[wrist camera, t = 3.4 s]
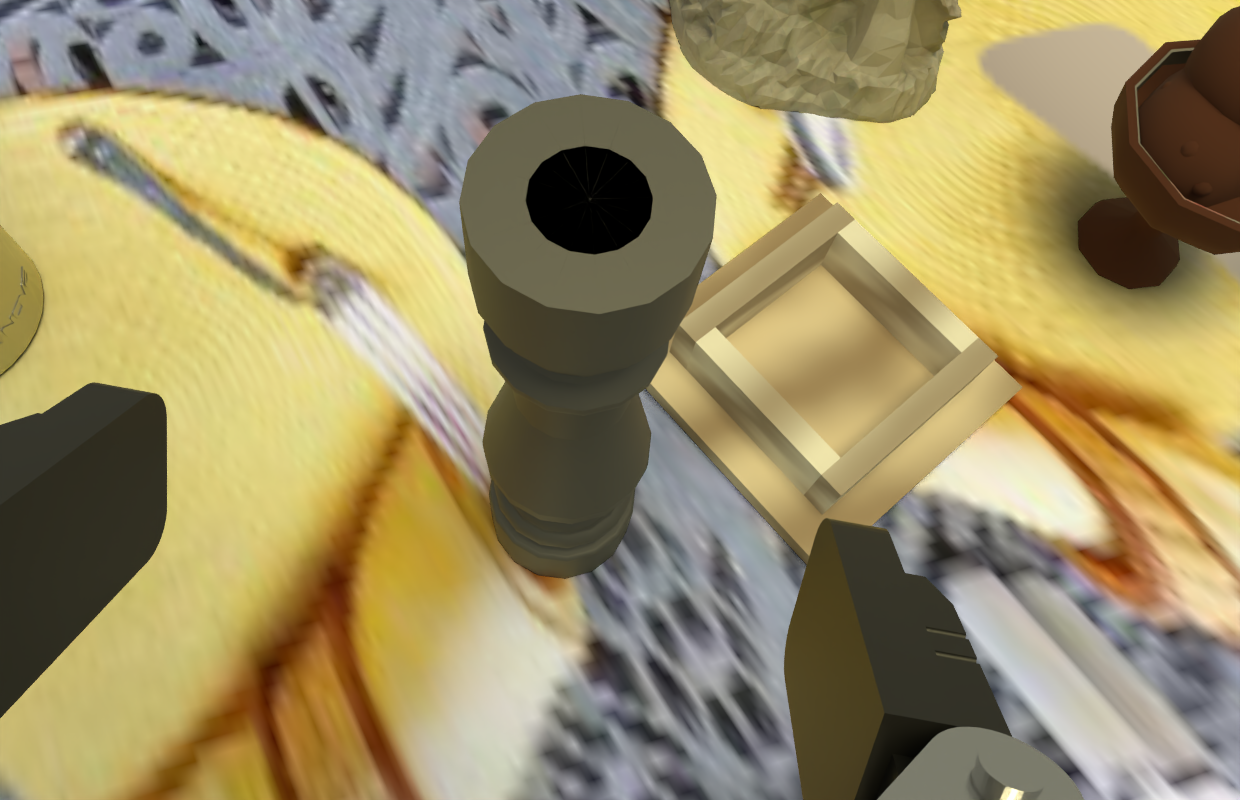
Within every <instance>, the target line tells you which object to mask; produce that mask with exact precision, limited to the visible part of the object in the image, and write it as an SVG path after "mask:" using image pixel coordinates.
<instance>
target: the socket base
mask: <svg viewBox="0 0 1240 800" xmlns="http://www.w3.org/2000/svg"><path fill="white" fill-rule="evenodd" d="M997 357H998V356H997V355H996V354H995V353H994V352H993V351H992V350H991V349H990V348H989V347H988V346H987V345H986V344H985V343H984V342H983V341H982V340H981V339H980V338H979V337H977V336H976V335H975V334H974V333H973V332H972V331H971V330H970V329H969V328H968V327H967V326H966V325H965V324H964V323H963V322H962V321H961V320H960V319H959V318H958V317H957V316H956V315H954V314H953V313H952V312H951V311H950V310H949V309H948V308H947V307H946V306H945V305H944V304H943V303H942V302H941V301H940V300H939V299H938V298H937V297H936V296H935V295H934V294H933V293H931V292H930V291H929V290H928V289H927V288H926V287H925V286H924V285H923V284H922V283H921V282H920V281H919V280H918V279H917V278H916V277H915V276H914V275H913V274H912V273H911V272H910V271H909V270H907V269H906V268H905V267H904V266H903V265H902V264H901V263H900V262H899V261H898V260H897V259H896V258H895V257H894V256H893V255H892V254H891V253H890V252H889V251H888V250H887V249H886V248H884V247H883V246H882V245H881V244H880V243H879V242H878V241H877V240H876V239H875V238H874V237H873V236H872V235H871V234H870V233H869V232H868V231H867V230H866V229H865V228H864V227H863V226H861V225H860V224H859V223H858V222H857V221H856V220H855V219H854V218H853V217H852V216H851V215H850V214H849V213H848V212H847V211H846V210H845V209H844V208H843V207H842V206H841V205H840V204H838V203H836V204H835V205H832V204H831V203H830V202H829V201H828V200H827V199H826V198H825V197H824V196H823V195H822V194H821V193H820V194H819V195H818V196H816V197H815V198H814V199H812V200H811V201H810V202H808V203H807V204H806V205H804V206H803V207H802V208H800V209H799V210H798V211H796V212H795V213H794V214H792V215H791V216H790V217H788V218H787V219H786V220H784V221H783V222H782V223H780V224H779V225H778V226H776V227H775V228H774V229H772V230H771V231H770V232H768V233H767V234H766V235H764V236H763V237H762V238H760V239H759V240H758V241H756V242H755V243H754V244H752V245H751V246H750V247H748V248H747V249H746V250H744V251H743V252H741V253H740V254H739V255H737V256H736V257H735V258H733V259H732V260H731V261H729V262H728V263H727V264H725V265H724V266H723V267H721V268H720V269H719V270H717V271H716V272H715V273H713V274H712V275H711V276H709V277H708V278H707V279H705V280H704V281H703V282H701V283H700V284H699V285H698V286H697V290H696V293H695V296H694V299H693V302H692V305H691V307H690V308H689V310H688V312H687V313H686V315H685V317H684V318H683V320H682V322H681V323H680V325H679V327H678V328H677V330H676V332H675V333H674V335H673V337H672V338H671V340H669V346H668V353H667V356H666V358H665V360H664V361H663V363H662V365H661V366H660V368H659V370H658V372H657V373H656V375H655V377H654V378H653V380H652V382H651V383H650V385H649V386H648V387H647V388H646V390H647V391H648V392H649V393H650V394H651V395H652V396H653V397H654V399H655V400H656V401H657V402H658V403H659V404H660V405H661V406H662V407H663V408H664V409H665V411H666V412H667V413H668V414H669V415H670V416H671V417H672V418H673V419H674V420H675V421H676V423H677V424H678V425H679V426H680V427H681V428H682V429H683V430H684V431H685V432H686V433H687V435H688V436H689V437H690V438H691V439H692V440H693V441H694V442H695V443H696V444H697V445H698V447H699V448H700V449H701V450H702V451H703V452H704V453H705V454H706V455H707V456H708V457H709V459H710V460H711V461H712V462H713V463H714V464H715V465H716V466H717V467H718V468H719V469H720V471H721V472H722V473H723V474H724V475H725V476H726V477H727V478H728V479H729V480H730V482H731V483H732V484H733V485H734V486H735V487H736V488H737V489H738V490H739V491H740V492H741V494H742V495H743V496H744V497H745V498H746V499H747V500H748V501H749V502H750V503H751V504H752V506H753V507H754V508H755V509H756V510H757V511H758V512H759V513H760V514H761V515H762V516H763V518H764V519H765V520H766V521H767V522H768V523H769V524H770V525H771V526H772V527H773V528H774V530H775V531H776V532H777V533H778V534H779V535H780V536H781V537H782V538H783V539H784V540H785V542H786V543H787V544H788V545H789V546H790V547H791V548H792V549H793V550H794V551H795V552H796V554H797V555H798V556H799V557H800V558H801V559H802V560H803V561H804V562H805V563H806V565H807V563H808V559H809V556H810V553H811V549H812V546H813V542H814V539H815V536H816V533H817V530H818V528H819V526H820V524H821V522H822V521H823V520H824V519H825V518H829V519H835V520H840V521H846V522H851V523H857V524H862V525H868V526H872V525H873V524H874V523H875V522H876V521H877V520H878V519H879V518H880V517H881V516H883V515H884V514H885V513H886V512H887V511H888V510H889V509H890V508H891V507H892V506H893V505H895V504H896V503H897V502H898V501H899V500H900V499H901V498H902V497H903V496H904V495H906V494H907V493H908V492H909V491H910V490H911V489H912V488H913V487H914V486H915V485H916V484H918V483H919V482H920V481H921V480H922V479H923V478H924V477H925V476H926V475H927V474H928V473H930V472H931V471H932V470H933V469H934V468H935V467H936V466H937V465H938V464H939V463H940V462H942V461H943V460H944V459H945V458H946V457H947V456H948V455H949V454H950V453H951V452H952V451H954V450H955V449H956V448H957V447H958V446H959V445H960V444H961V443H962V442H963V441H965V440H966V439H967V438H968V437H969V436H970V435H971V434H972V433H973V432H974V431H975V430H977V429H978V428H979V427H980V426H981V425H982V424H983V423H984V422H985V421H986V420H987V419H989V418H990V417H991V416H992V415H993V414H994V413H995V412H996V411H997V410H998V409H999V408H1001V407H1002V406H1003V405H1004V404H1005V403H1006V402H1007V401H1008V400H1009V399H1010V398H1012V397H1013V396H1014V395H1015V394H1016V393H1017V392H1018V391H1019V390H1020V389H1021V388H1022V386H1021V385H1020V384H1019V383H1018V382H1016V381H1015V380H1014V379H1013V378H1012V377H1011V376H1010V375H1009V374H1008V373H1007V372H1006V371H1005V370H1004V369H1003V368H1002V367H1001V366H1000V365H999V364H998V363H997V362H996V361H995V359H996V358H997Z"/></svg>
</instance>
